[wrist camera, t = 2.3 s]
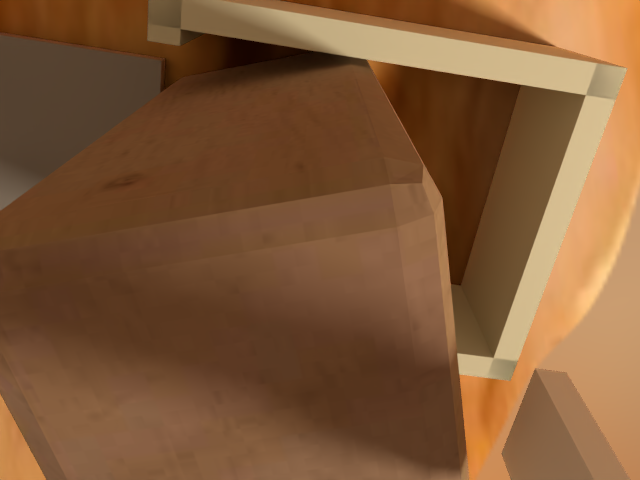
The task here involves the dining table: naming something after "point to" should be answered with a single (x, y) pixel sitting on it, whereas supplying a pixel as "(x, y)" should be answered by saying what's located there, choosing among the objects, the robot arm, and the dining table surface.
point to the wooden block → (237, 290)
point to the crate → (514, 161)
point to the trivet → (63, 103)
